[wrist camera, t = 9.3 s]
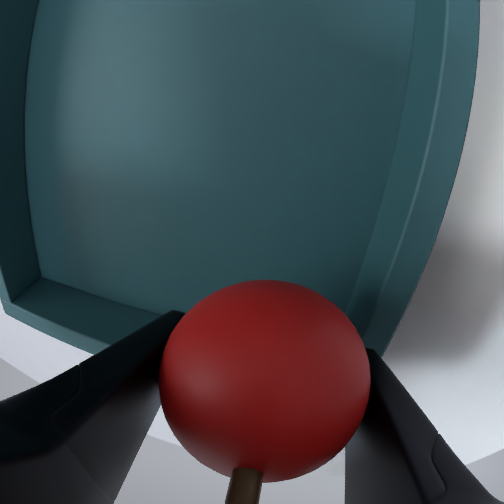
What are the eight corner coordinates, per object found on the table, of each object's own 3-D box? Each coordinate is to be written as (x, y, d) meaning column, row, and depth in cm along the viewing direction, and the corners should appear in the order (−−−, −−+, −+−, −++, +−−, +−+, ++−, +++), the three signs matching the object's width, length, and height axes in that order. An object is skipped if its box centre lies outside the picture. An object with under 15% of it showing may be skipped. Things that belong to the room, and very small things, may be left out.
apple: (330, 383, 10) (326, 538, 5) (192, 356, 11) (133, 501, 5) (382, 263, 8) (444, 466, 3) (198, 227, 8) (71, 400, 3)
